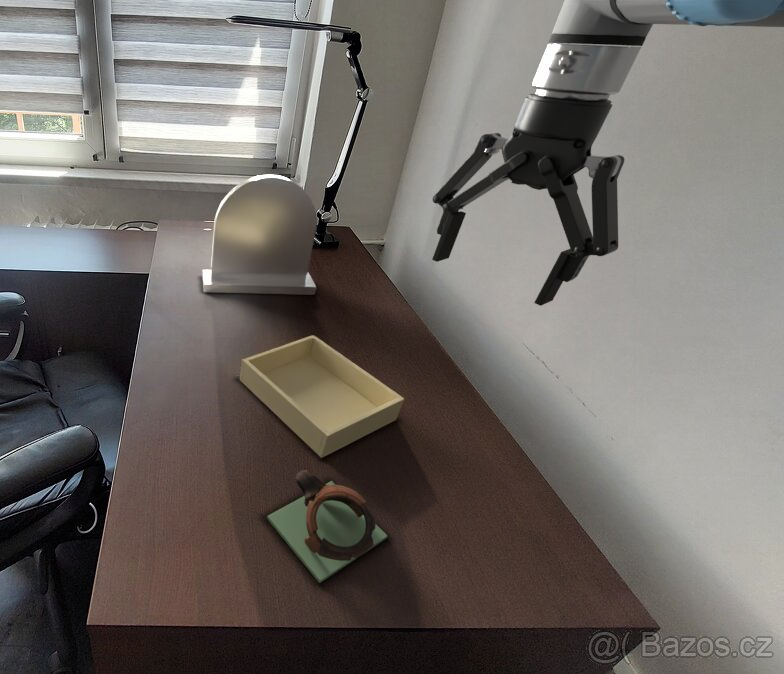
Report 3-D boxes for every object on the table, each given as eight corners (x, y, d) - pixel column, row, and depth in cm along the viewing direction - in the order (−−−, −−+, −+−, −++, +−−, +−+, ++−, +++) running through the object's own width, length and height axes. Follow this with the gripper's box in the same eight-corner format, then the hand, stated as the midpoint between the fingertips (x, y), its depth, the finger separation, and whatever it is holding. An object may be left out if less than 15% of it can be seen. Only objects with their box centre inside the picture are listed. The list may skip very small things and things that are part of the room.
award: (306, 278, 122) (327, 172, 107) (314, 294, 115) (338, 183, 100) (202, 276, 122) (208, 169, 106) (203, 292, 114) (210, 179, 99)
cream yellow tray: (396, 419, 78) (404, 398, 76) (321, 458, 71) (327, 436, 68) (308, 354, 94) (313, 334, 91) (239, 379, 86) (242, 359, 83)
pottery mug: (383, 528, 61) (398, 523, 54) (333, 580, 59) (343, 581, 52) (314, 461, 66) (319, 447, 59) (267, 506, 64) (267, 498, 57)
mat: (386, 538, 60) (387, 535, 59) (319, 583, 55) (320, 580, 54) (330, 483, 67) (331, 480, 67) (266, 518, 62) (267, 515, 61)
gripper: (439, 82, 54) (389, 249, 66) (717, 114, 37) (581, 333, 49) (476, 81, 58) (422, 240, 70) (748, 110, 40) (613, 316, 52)
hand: (487, 278), depth 59 cm, fingers open, 13 cm apart
